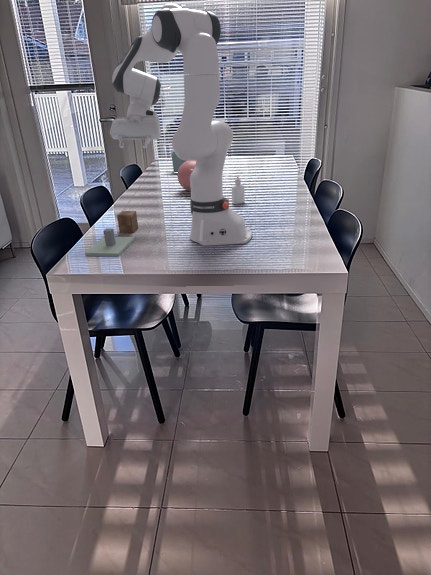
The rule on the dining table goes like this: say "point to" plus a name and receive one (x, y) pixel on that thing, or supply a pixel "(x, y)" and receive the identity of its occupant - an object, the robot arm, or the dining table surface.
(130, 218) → the walnut cap
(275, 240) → the dining table surface
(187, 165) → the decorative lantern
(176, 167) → the drinking glass
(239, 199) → the eye dropper bottle
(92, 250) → the post board
